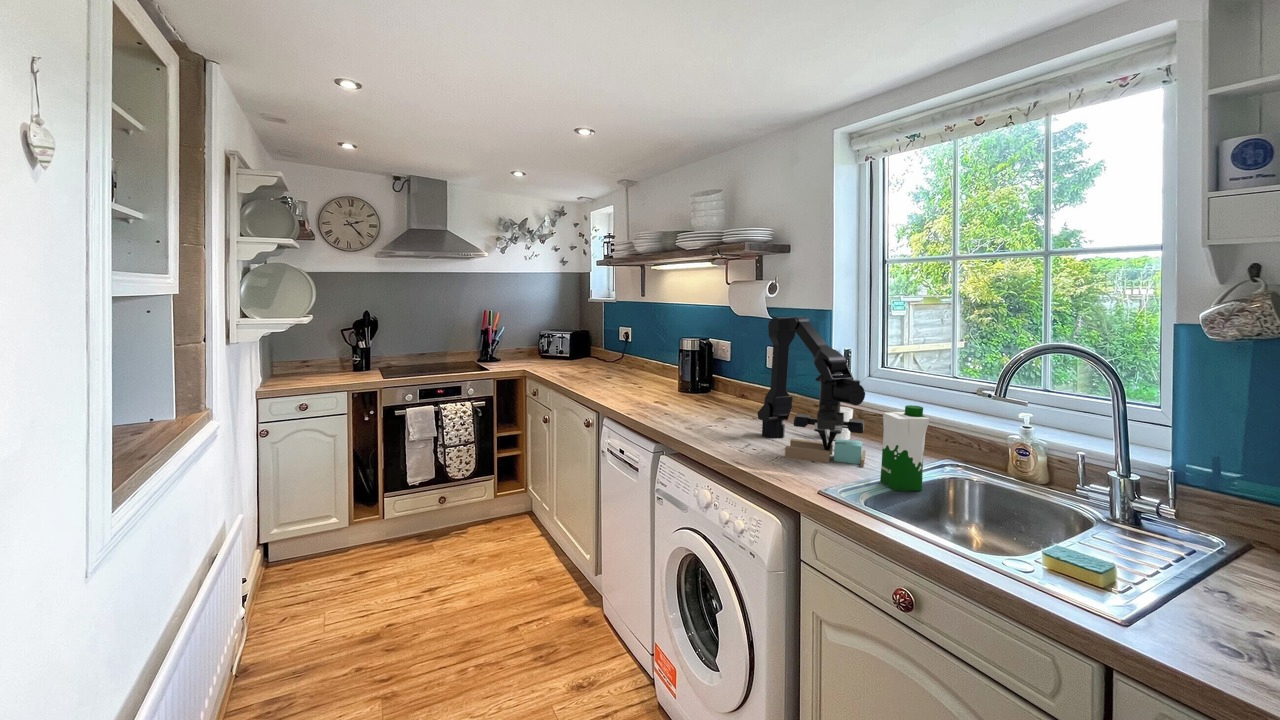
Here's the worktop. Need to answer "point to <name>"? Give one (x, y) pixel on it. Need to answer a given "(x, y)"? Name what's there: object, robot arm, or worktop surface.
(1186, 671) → the worktop surface
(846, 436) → the white cup
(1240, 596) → the worktop surface
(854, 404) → the robot arm
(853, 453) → the block
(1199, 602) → the worktop surface
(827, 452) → the chute
